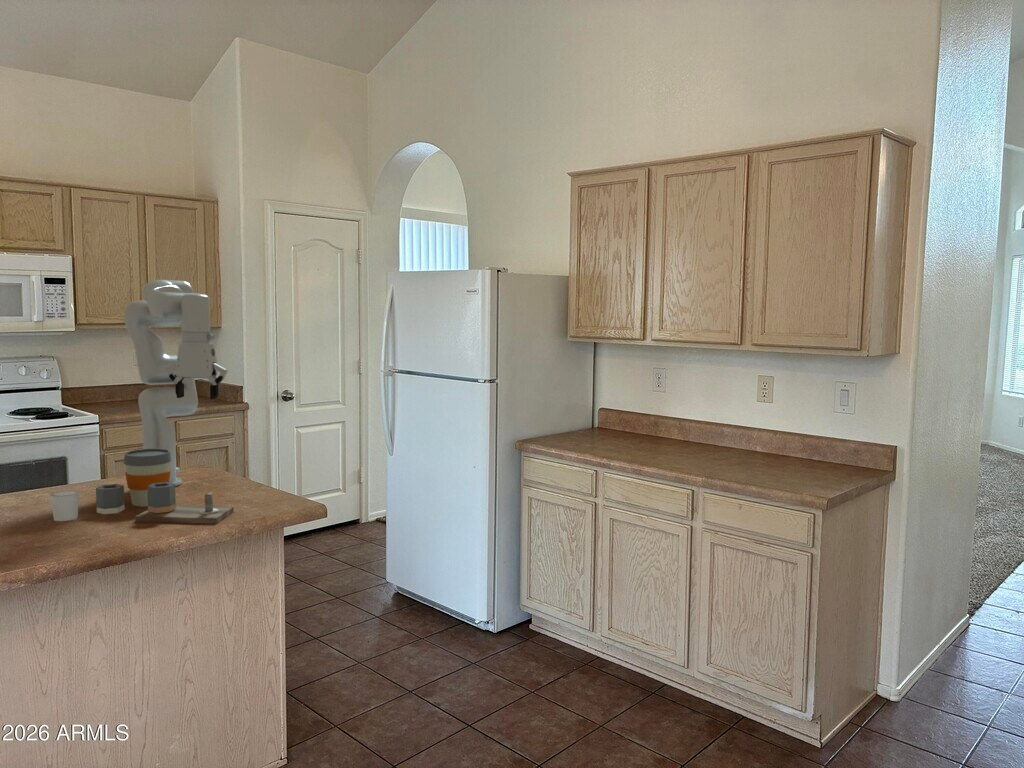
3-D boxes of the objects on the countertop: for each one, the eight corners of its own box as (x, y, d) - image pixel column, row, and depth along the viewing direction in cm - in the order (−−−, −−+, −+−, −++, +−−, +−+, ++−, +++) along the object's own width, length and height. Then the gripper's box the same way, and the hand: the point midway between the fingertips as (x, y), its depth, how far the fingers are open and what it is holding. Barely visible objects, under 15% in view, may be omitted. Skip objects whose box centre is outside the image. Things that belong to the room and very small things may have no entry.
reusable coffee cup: (120, 509, 218) (119, 457, 216) (130, 498, 230) (128, 449, 228) (168, 506, 221) (167, 455, 220) (175, 496, 233) (174, 447, 232)
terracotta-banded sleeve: (157, 506, 215) (156, 481, 214) (178, 506, 215) (177, 482, 214) (145, 512, 208) (144, 487, 207) (167, 513, 208) (166, 488, 207)
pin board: (156, 510, 217) (155, 487, 217) (233, 511, 217) (233, 489, 217) (135, 521, 205) (134, 498, 205) (216, 523, 205) (216, 500, 205)
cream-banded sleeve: (106, 507, 219) (105, 483, 218) (127, 508, 219) (126, 484, 218) (93, 514, 212) (92, 489, 211) (114, 514, 212) (114, 489, 211)
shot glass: (53, 516, 210) (52, 491, 209) (82, 514, 212) (81, 489, 211) (48, 522, 203) (47, 496, 203) (77, 520, 206) (76, 495, 205)
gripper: (231, 338, 219) (232, 397, 221) (172, 336, 220) (173, 395, 222) (220, 339, 212) (221, 401, 214) (159, 337, 213) (160, 398, 214)
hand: (197, 398), depth 218 cm, fingers open, 9 cm apart
